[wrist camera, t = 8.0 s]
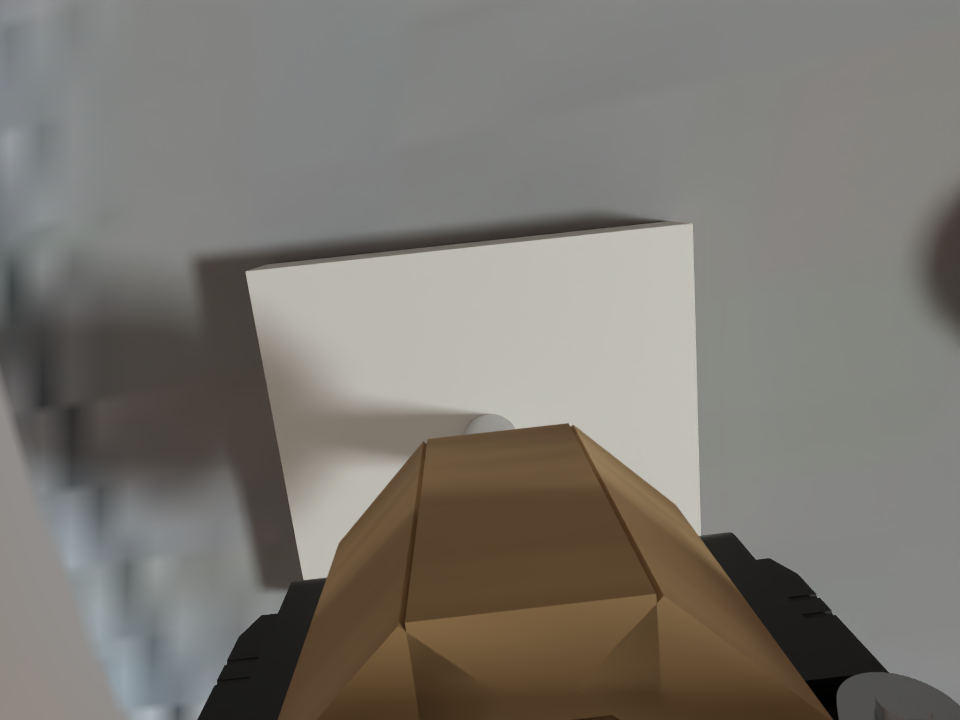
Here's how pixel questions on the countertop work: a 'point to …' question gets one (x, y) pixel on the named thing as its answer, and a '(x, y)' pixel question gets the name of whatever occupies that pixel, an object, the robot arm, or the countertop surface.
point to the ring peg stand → (477, 360)
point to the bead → (534, 599)
